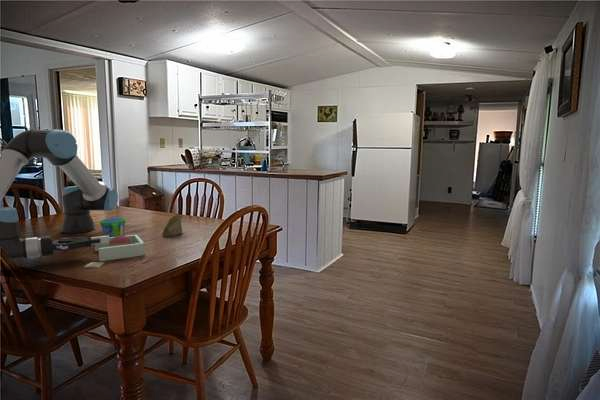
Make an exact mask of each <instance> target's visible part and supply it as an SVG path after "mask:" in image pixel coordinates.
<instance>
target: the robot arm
mask: <svg viewBox="0 0 600 400" xmlns="http://www.w3.org/2000/svg"><path fill="white" fill-rule="evenodd" d="M0 153H1V157H0V203H2V200H3V198H5V195H6V194H7V192H8V191H9V189H10V187H11V186H12V184H13V182H14V180H15V179H16V178H17V176H18V174H19V172H21V169H22V168H23V166H26V165H28V163H29V162H30V160H31V159H35V158H37V159H38V158H39V159H41V158H42V159H46V160H47V161H48V162H49V163H50V164H51V165H53V166H55V167H59V168H60V169H61V170H62V172H64V174H65V175H66V176H68V178H69V179H70V180H71V181H72V182H73V184H75V185H73V186H66V187H64V188H62V193H61V194H62V195H61V196H62V205H63V206H62V207H63V216H64V217H63V221H62V223H61V226H60V227H61V228H60V230H61V232H62V233H64V234H65V233H66V234H78V233H85V232H90V231H93V230H95V229H96V228H95V227H96V225H95V222H94V220H93V218H92V215H91V211H95V212H96V211H98V212H99V211H100V212H109V211H110V212H111V211H113V210H115V208H116V207H117V204H118V200H119V194H118V191H117V189H116V188H115V187H114V188H113V187H108V186H107V185H106V183H105V182H103V181H99V180H98V179H97V177H96V176H95V175H94V174H93V173H92V172H91V170H89V168H88V167H87V166H86V164H85V163H84V162H83V161H82V160H81V158H79V156H78V144H77V140H76V138H75V136H74V135H73V134H72V133H71V132H69V131H67V130H64V129H28V130H24V131H22V132H20V133H18V134H17V135H16V136H14V137H12V139H10V141H8V143H6V145H5V147H4V148H2V151H1V152H0ZM19 219H20V218H19V215H18V210H17V208H15V207H12V206H5V207H2V206H1V207H0V247H1V249H2V250H4V251H5V252H6V253H7V255H8V256H9V257H10V258H11V259H12V260H11V261H16V260H23V259H31V260H34V258H39V257H49V256H53V255H54V251H61V252H66V251H70V250H75V249H81V248H87V247H90V248H92V246H93V245H94V246H95V244H102V243H109V235H108V236H104V235H100V236H91V235H87V236H75V237H74V236H73V237H60V238H57V239H56V240H53V236H51V235H45V236H40V238H39V237H38V236H34V237H26V238H21V235H20V222H19Z"/></svg>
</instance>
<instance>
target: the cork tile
mask: <svg viewBox="0 0 600 400" xmlns="http://www.w3.org/2000/svg"><path fill="white" fill-rule="evenodd" d="M104 265H105V261H99V262H98V261H97V262H96V261H95V262H94V261H92V262H90V263H87V264H86V265H85V266H84V267H83V268H84V269H100V268H101V267H102V266H104Z"/></svg>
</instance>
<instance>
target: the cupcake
mask: <svg viewBox="0 0 600 400" xmlns="http://www.w3.org/2000/svg"><path fill="white" fill-rule="evenodd" d="M122 234H123V226H122V225H121V236H115V237H114V238H112V239H111V240H110V241H109V245H110V246H121V245H129V244H131V239H130V238H129V237H127V235H124V236H122Z"/></svg>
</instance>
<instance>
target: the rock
mask: <svg viewBox="0 0 600 400" xmlns="http://www.w3.org/2000/svg"><path fill="white" fill-rule="evenodd" d="M182 234H183V228H182V219H181V216H180V215H178V214H177V215H173V216H172V217H171V218H169V219H168V222H167V223H166V224H165V227H164V228H163V231H162V234H161V236H163V237H171V236H176V235H182Z"/></svg>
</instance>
